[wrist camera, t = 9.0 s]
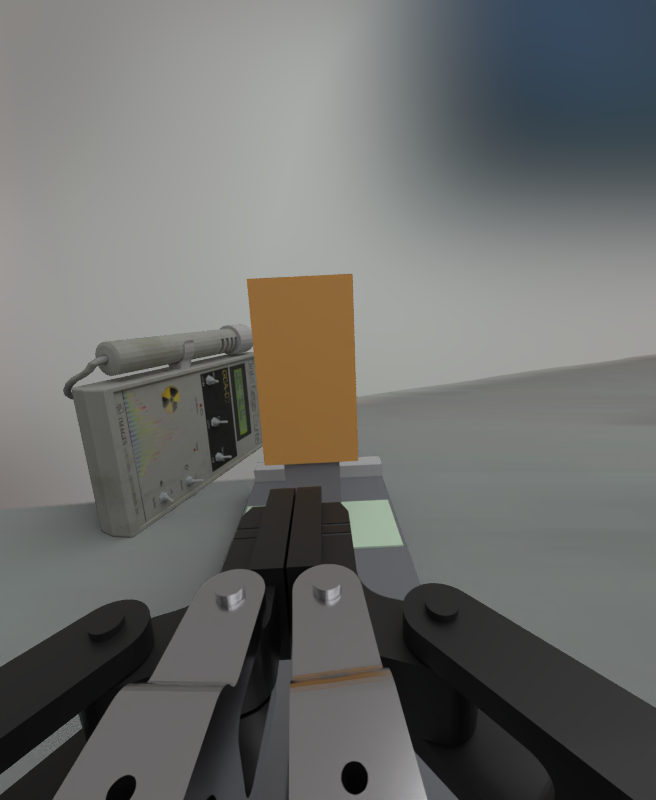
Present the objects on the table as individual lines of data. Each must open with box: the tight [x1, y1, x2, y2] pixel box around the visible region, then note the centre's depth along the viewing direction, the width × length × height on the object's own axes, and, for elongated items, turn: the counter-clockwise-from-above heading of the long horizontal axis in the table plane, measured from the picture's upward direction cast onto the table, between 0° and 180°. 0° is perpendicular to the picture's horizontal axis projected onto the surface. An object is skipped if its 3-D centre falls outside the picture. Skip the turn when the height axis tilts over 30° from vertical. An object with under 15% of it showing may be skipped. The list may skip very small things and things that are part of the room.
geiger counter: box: [63, 324, 263, 537], centre depth 36 cm, size 14×6×25 cm
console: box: [219, 456, 459, 800], centre depth 18 cm, size 26×10×3 cm, turn 1°
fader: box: [247, 274, 358, 503], centre depth 20 cm, size 3×5×14 cm, turn 91°
